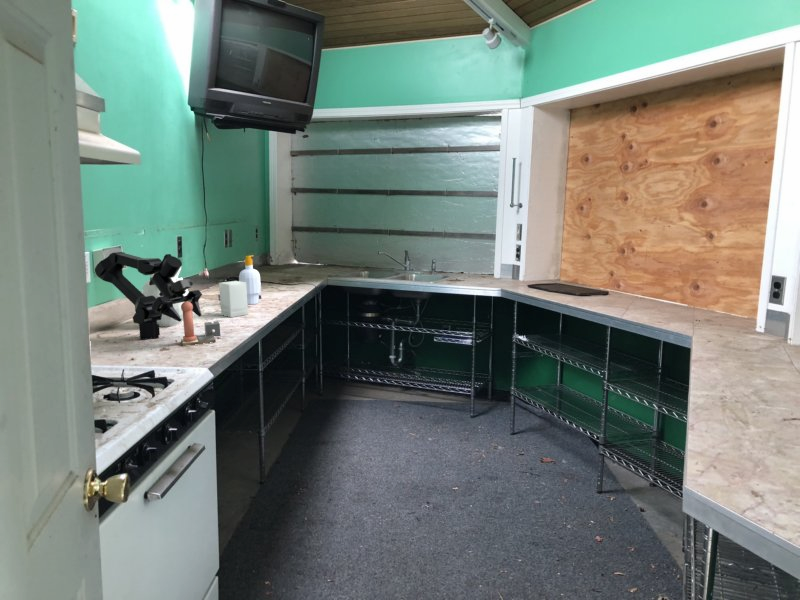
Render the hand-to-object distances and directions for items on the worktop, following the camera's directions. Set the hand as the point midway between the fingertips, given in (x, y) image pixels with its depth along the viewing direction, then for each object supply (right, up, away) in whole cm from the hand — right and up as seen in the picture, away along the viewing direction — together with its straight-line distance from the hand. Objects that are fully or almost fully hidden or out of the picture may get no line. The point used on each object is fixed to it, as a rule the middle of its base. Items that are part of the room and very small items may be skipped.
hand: (190, 318), depth 194 cm
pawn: (-1, -8, +2) cm, 8 cm away
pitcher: (-23, -4, +35) cm, 42 cm away
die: (+3, -7, +13) cm, 15 cm away
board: (+1, -9, +3) cm, 10 cm away
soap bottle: (0, +4, +79) cm, 79 cm away
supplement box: (0, -1, +52) cm, 52 cm away
